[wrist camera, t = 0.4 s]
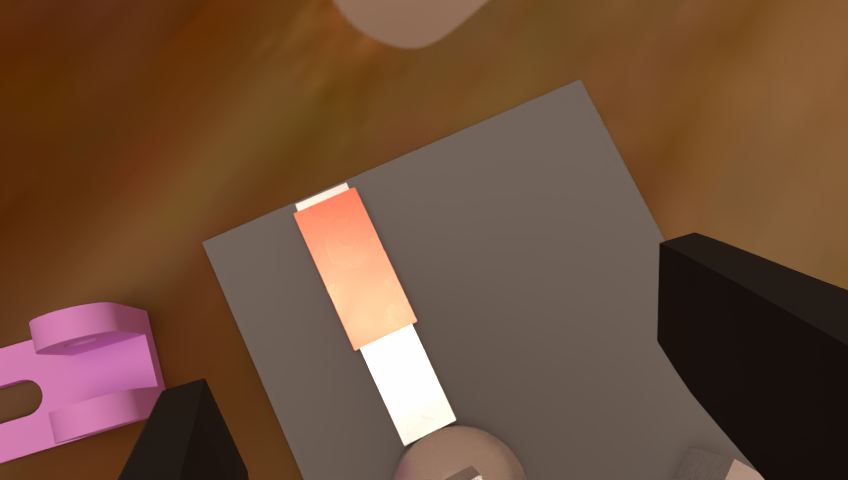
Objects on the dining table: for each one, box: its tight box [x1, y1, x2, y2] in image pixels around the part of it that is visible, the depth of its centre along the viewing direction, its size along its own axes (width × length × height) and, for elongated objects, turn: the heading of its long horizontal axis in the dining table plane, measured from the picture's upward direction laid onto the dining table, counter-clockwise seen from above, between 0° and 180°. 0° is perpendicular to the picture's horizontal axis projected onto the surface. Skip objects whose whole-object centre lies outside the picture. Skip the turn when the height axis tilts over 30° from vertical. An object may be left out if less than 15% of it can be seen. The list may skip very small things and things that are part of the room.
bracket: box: [0, 302, 166, 463], centre depth 33 cm, size 13×6×7 cm, turn 107°
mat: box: [202, 80, 758, 480], centre depth 38 cm, size 30×24×1 cm
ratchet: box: [294, 183, 527, 480], centre depth 35 cm, size 21×7×5 cm, turn 25°
